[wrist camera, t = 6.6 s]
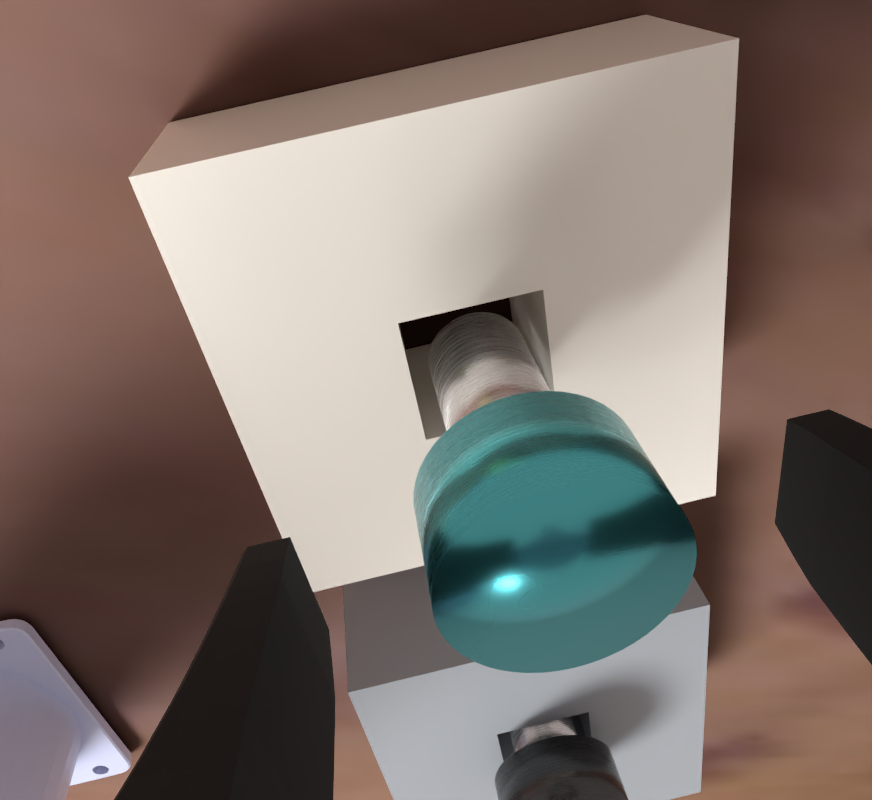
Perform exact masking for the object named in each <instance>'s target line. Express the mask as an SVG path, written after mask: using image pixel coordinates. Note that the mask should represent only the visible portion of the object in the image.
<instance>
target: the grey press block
mask: <svg viewBox="0 0 872 800" xmlns="http://www.w3.org/2000/svg"><path fill="white" fill-rule="evenodd" d="M343 598H344V619H345V640H346V660H347V681H348V694H349V696H350V698H351V701H352V703H353V705H354V708H355V710H356V712H357V715H358V717H359V719H360V722H361V724H362V726H363V729H364V731H365V733H366V736H367V738H368V741H369V743H370V745H371V748H372V750H373V752H374V755H375V757H376V759H377V762H378V764H379V766H380V769H381V771H382V773H383V776H384V778H385V780H386V783H387V785H388V787H389V790H390V792H391V794H392V797H393V799H394V800H498V796H497V791H496V787H495V776H496V772H497V771H498V769H499V767H500V766H501V764H502V763H503V762H504V761H505V760H506V759H507V758H508V757H509V756H511V755H512V754H513V753H515V752H514V748H513V744H512V740H511V735H510V731H514V730H518V729H522V728H526V727H530V726H534V725H538V724H542V723H546V722H550V721H554V720H558V719H563V718H567V717H571V718H572V721H573V724H574V727H575V730H576V733H577V735H583V736H589V737H593V738H595V739H598V740H600V741H602V742H603V743H605V744H606V745H607V746H608V748H609V749H610V751H611V753H612V756H613V759H614V761H615V764H616V767H617V770H618V772H619V775H620V778H621V781H622V783H623V786H624V789H625V792H626V794H627V797H628V800H670V799H674V798H678V797H682V796H686V795H690V794H694V793H698V792H700V791H701V772H702V752H703V733H704V713H705V694H706V674H707V655H708V635H709V616H710V604H709V602H708V600H707V599H706V597H705V595H704V594H703V592H702V590H701V588H700V587H699V585H698V583H697V582H696V580H695V578H694V577H692V580H691V582H690V584H689V586H688V588H687V590H686V592H685V594H684V595H683V597H682V598H681V600H680V602H679V603H678V604H677V605H676V607H675V608H674V609H673V610H672V612H671V613H670V614H669V615H668V616H667V617H666V618H665V619H664V620H663V621H662V622H661V623H660V624H659V625H658V626H657V627H655V628H654V629H653V630H652V631H650V632H649V633H648V634H647V635H645V636H644V637H642V638H641V639H639V640H638V641H636V642H635V643H633V644H632V645H630V646H628V647H626V648H625V649H623V650H621V651H619V652H617V653H615V654H612V655H610V656H608V657H606V658H603V659H601V660H598V661H595V662H593V663H590V664H586V665H583V666H579V667H576V668H571V669H566V670H561V671H553V672H544V673H519V672H509V671H503V670H498V669H494V668H490V667H487V666H484V665H481V664H479V663H476V662H474V661H472V660H470V659H468V658H467V657H465V656H463V655H462V654H460V653H459V652H458V651H456V650H455V649H454V648H453V647H452V646H451V645H450V644H449V643H448V642H447V641H446V640H445V639H444V637H443V636H442V634H441V633H440V631H439V629H438V627H437V625H436V622H435V620H434V616H433V611H432V605H431V600H430V594H429V588H428V583H427V577H426V572H425V566H420V567H416V568H412V569H408V570H404V571H399V572H395V573H391V574H387V575H383V576H379V577H375V578H370V579H366V580H362V581H358V582H354V583H350V584H345V585H343Z"/></svg>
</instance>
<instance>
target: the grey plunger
mask: <svg viewBox="0 0 872 800" xmlns="http://www.w3.org/2000/svg"><path fill="white" fill-rule="evenodd" d="M510 735H511V740H512V744H513V748H514V752H515V753H513V754H512V755H511V756H509V757H508V758H507V759H506V760H505V761H504V762H503V763H502V764H501V766H500V767H499V769H498V771H497V772H496V776H495V787H496V791H497V796H498V800H628V797H627V794H626V792H625V789H624V786H623V783H622V781H621V778H620V775H619V772H618V770H617V767H616V764H615V761H614V759H613V756H612V753H611V751H610V749H609V748H608V746H607V745H606V744H605V743H603V742H602V741H600V740H598V739H595V738H593V737H589V736H583V735H577V733H576V730H575V727H574V724H573V721H572V718H571V717H567V718H563V719H558V720H554V721H550V722H546V723H542V724H538V725H534V726H530V727H526V728H522V729H518V730H514V731H510Z"/></svg>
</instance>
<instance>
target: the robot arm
mask: <svg viewBox="0 0 872 800" xmlns="http://www.w3.org/2000/svg"><path fill="white" fill-rule="evenodd" d="M775 524H776V526H777V528H778V529H779V531H780V533H781V535H782V536H783V538H784V540H785V542H786V544H787V545H788V547H789V549H790V551H791V553H792V554H793V556H794V558H795V559H796V561H797V563H798V564H799V566H800V568H801V569H802V571H803V573H804V574H805V576H806V578H807V579H808V581H809V583H810V584H811V586H812V587H813V588H814V590H815V591H816V592H817V594H818V595H819V596H820V598H821V599H822V600H823V602H824V603H825V604H826V606H827V607H828V608H829V610H830V611H831V612H832V614H833V615H834V616H835V618H836V619H837V620H838V622H839V623H840V624H841V626H842V627H843V628H844V629H845V631H846V632H847V633H848V635H849V636H850V637H851V639H852V640H853V641H854V642H855V644H856V645H857V646H858V648H859V649H860V650H861V651H862V653H863V654H864V655H865V657H866V658H867V659H868V661H869V662H870V663H871V664H872V429H871V428H869V427H867V426H865V425H863V424H860V423H858V422H856V421H854V420H852V419H850V418H847V417H845V416H843V415H841V414H838V413H836V412H834V411H831V410H825V411H821V412H816V413H812V414H808V415H804V416H799V417H795V418H791V419H787V426H786V434H785V443H784V451H783V459H782V468H781V476H780V485H779V493H778V501H777V510H776V518H775ZM334 735H335V692H334V679H333V667H332V657H331V647H330V637H329V629H328V627H327V624H326V622H325V619H324V617H323V615H322V612H321V610H320V607H319V605H318V603H317V600H316V598H315V595H314V593H313V591H312V588H311V586H310V583H309V581H308V579H307V576H306V574H305V572H304V569H303V567H302V564H301V562H300V560H299V557H298V555H297V552H296V550H295V548H294V545H293V543H292V540H291V538H290V537H288V538H284V539H279V540H275V541H271V542H267V543H263V544H258V545H254V546H250V547H247V549H246V550H245V552H244V553H243V555H242V557H241V559H240V561H239V563H238V566H237V568H236V570H235V572H234V575H233V577H232V579H231V581H230V584H229V586H228V588H227V590H226V592H225V595H224V597H223V599H222V601H221V603H220V606H219V608H218V610H217V612H216V614H215V616H214V618H213V620H212V623H211V625H210V627H209V629H208V631H207V633H206V635H205V637H204V639H203V641H202V643H201V645H200V647H199V649H198V651H197V653H196V655H195V657H194V659H193V661H192V663H191V665H190V667H189V669H188V671H187V673H186V675H185V677H184V679H183V681H182V683H181V685H180V687H179V688H178V690H177V692H176V694H175V696H174V698H173V700H172V702H171V703H170V705H169V707H168V709H167V710H166V712H165V714H164V716H163V717H162V719H161V721H160V723H159V725H158V726H157V728H156V730H155V732H154V733H153V735H152V737H151V739H150V740H149V742H148V744H147V746H146V747H145V749H144V751H143V753H142V755H141V756H140V758H139V760H138V761H137V763H136V765H135V766H134V768H133V770H132V771H131V773H130V775H129V776H128V778H127V780H126V781H125V783H124V784H123V786H122V788H121V789H120V791H119V793H118V794H117V796H116V797H115V799H114V800H333V781H334ZM131 761H132V754H131V753H130V751H129V750H128V749H127V747H126V746H125V745H124V744H123V742H122V741H121V740H120V738H119V737H118V736H117V735H116V733H115V732H114V731H113V730H112V728H111V727H110V726H109V724H108V723H107V722H106V721H105V719H104V718H103V717H102V715H101V714H100V713H99V712H98V710H97V709H96V708H95V706H94V705H93V704H92V703H91V701H90V700H89V699H88V697H87V696H86V695H85V694H84V692H83V691H82V690H81V688H80V687H79V686H78V685H77V683H76V682H75V681H74V679H73V678H72V677H71V676H70V674H69V673H68V672H67V671H66V669H65V668H64V667H63V665H62V664H61V663H60V662H59V660H58V659H57V658H56V656H55V655H54V654H53V653H52V651H51V650H50V649H49V647H48V646H47V645H46V644H45V642H44V641H43V640H42V638H41V637H40V636H39V635H38V633H37V632H36V631H35V629H34V628H33V627H32V626H31V625H30V624H29V623H27V622H25V621H23V620H19V619H9V620H4V621H0V800H66V797H67V793H68V790H69V786H71V785H75V784H79V783H83V782H87V781H91V780H95V779H100V778H104V777H108V776H112V775H116V774H120V773H123V772H125V771H127V770H128V769H129V768H130V765H131Z"/></svg>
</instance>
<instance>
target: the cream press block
mask: <svg viewBox="0 0 872 800" xmlns="http://www.w3.org/2000/svg"><path fill="white" fill-rule="evenodd" d="M738 51H739V38H736V37H732V36H728V35H724V34H720V33H716V32H712V31H708V30H704V29H701V28H697V27H693V26H689V25H685V24H681V23H677V22H673V21H669V20H665V19H661V18H657V17H653V16H649V15H641V16H637V17H633V18H628V19H624V20H619V21H615V22H611V23H606V24H602V25H597V26H593V27H588V28H584V29H580V30H575V31H571V32H566V33H562V34H558V35H553V36H549V37H544V38H540V39H536V40H531V41H527V42H522V43H518V44H513V45H509V46H505V47H500V48H496V49H491V50H487V51H483V52H478V53H474V54H469V55H465V56H460V57H456V58H452V59H447V60H443V61H438V62H434V63H430V64H425V65H421V66H416V67H412V68H407V69H403V70H399V71H394V72H390V73H385V74H381V75H377V76H372V77H368V78H363V79H359V80H354V81H350V82H346V83H341V84H337V85H332V86H328V87H324V88H319V89H315V90H310V91H306V92H301V93H297V94H293V95H288V96H284V97H279V98H275V99H271V100H266V101H262V102H257V103H253V104H248V105H244V106H240V107H235V108H231V109H226V110H222V111H218V112H213V113H209V114H204V115H200V116H195V117H191V118H187V119H182V120H178V121H173V122H169V123H168V124H167V126H166V127H165V128H164V130H163V131H162V132H161V134H160V135H159V136H158V138H157V139H156V141H155V142H154V143H153V145H152V146H151V147H150V149H149V150H148V151H147V153H146V154H145V155H144V157H143V158H142V160H141V161H140V162H139V164H138V165H137V166H136V168H135V169H134V170H133V172H132V173H131V174H130V176H129V177H128V178H129V180H130V182H131V185H132V187H133V189H134V192H135V194H136V197H137V199H138V201H139V204H140V206H141V208H142V211H143V213H144V215H145V218H146V220H147V222H148V225H149V227H150V229H151V232H152V234H153V236H154V239H155V241H156V243H157V246H158V248H159V250H160V253H161V255H162V257H163V260H164V262H165V265H166V267H167V269H168V272H169V274H170V276H171V279H172V281H173V283H174V286H175V288H176V290H177V293H178V295H179V297H180V300H181V302H182V304H183V307H184V309H185V311H186V314H187V316H188V318H189V321H190V323H191V325H192V328H193V330H194V333H195V335H196V337H197V340H198V342H199V344H200V347H201V349H202V351H203V354H204V356H205V358H206V361H207V363H208V365H209V368H210V370H211V372H212V375H213V377H214V379H215V382H216V384H217V386H218V389H219V391H220V393H221V396H222V398H223V401H224V403H225V405H226V408H227V410H228V412H229V415H230V417H231V419H232V422H233V424H234V426H235V429H236V431H237V433H238V436H239V438H240V440H241V443H242V445H243V447H244V450H245V452H246V454H247V457H248V459H249V461H250V464H251V466H252V469H253V471H254V473H255V476H256V478H257V480H258V483H259V485H260V487H261V490H262V492H263V494H264V497H265V499H266V501H267V504H268V506H269V508H270V511H271V513H272V515H273V518H274V520H275V522H276V525H277V527H278V529H279V532H280V534H281V537H282V539H284V538H288V537H290V538H291V540H292V543H293V545H294V548H295V550H296V552H297V555H298V557H299V560H300V562H301V564H302V567H303V569H304V572H305V574H306V576H307V579H308V581H309V583H310V586H311V588H312V591H313V592H316V591H320V590H325V589H329V588H333V587H337V586H341V585H345V584H350V583H354V582H358V581H362V580H366V579H370V578H375V577H379V576H383V575H387V574H391V573H395V572H399V571H404V570H408V569H412V568H416V567H420V566H424V560H423V555H422V549H421V544H420V538H419V532H418V527H417V521H416V516H415V510H414V495H413V493H414V487H415V481H416V477H417V474H418V471H419V468H420V466H421V464H422V462H423V460H424V458H425V456H426V455H427V453H428V452H429V451H430V449H431V448H432V446H433V445H434V444H435V442H436V441H437V440H438V439H439V438H440V437H441V436H442V435H443V434H444V433H445V432H446V429H445V425H444V421H443V418H442V414H441V410H440V407H439V403H438V399H437V395H436V392H435V388H434V384H433V381H432V377H431V373H430V369H429V364H428V355H429V350H430V346H431V344H428V345H423V346H419V347H415V348H411V349H405V345H404V341H403V336H402V332H401V328H400V324H399V323H402V322H406V321H411V320H415V319H419V318H423V317H428V316H432V315H436V314H441V313H445V312H449V311H453V310H458V309H462V308H466V307H471V306H475V305H479V304H483V303H488V302H492V301H496V300H501V299H505V298H509V300H510V307H511V314H512V322H513V324H514V325H515V326H516V327H517V329H518V330H519V332H520V333H521V335H522V337H523V339H524V341H525V343H526V345H527V347H528V349H529V351H530V352H531V354H532V356H533V358H534V360H535V362H536V364H537V366H538V368H539V370H540V372H541V374H542V376H543V378H544V379H545V381H546V383H547V385H548V387H549V389H550V391H560V392H568V393H573V394H578V395H582V396H585V397H588V398H591V399H593V400H595V401H598V402H600V403H602V404H604V405H605V406H607V407H608V408H610V409H611V410H613V411H614V412H615V413H616V414H617V415H618V416H619V417H621V418H622V419H623V420H624V422H625V423H626V424H627V426H628V427H629V428H630V430H631V431H632V433H633V434H634V436H635V438H636V439H637V441H638V442H639V444H640V445H641V447H642V449H643V450H644V452H645V453H646V455H647V456H648V458H649V460H650V461H651V463H652V464H653V466H654V467H655V469H656V470H657V472H658V474H659V475H660V477H661V478H662V480H663V481H664V483H665V485H666V486H667V488H668V489H669V491H670V492H671V494H672V496H673V497H674V499H675V500H676V502H677V503H678V505H679V504H683V503H687V502H691V501H695V500H699V499H704V498H708V497H712V496H716V480H717V460H718V441H719V421H720V402H721V382H722V363H723V343H724V324H725V304H726V285H727V265H728V246H729V226H730V207H731V187H732V168H733V148H734V129H735V109H736V90H737V70H738Z"/></svg>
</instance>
